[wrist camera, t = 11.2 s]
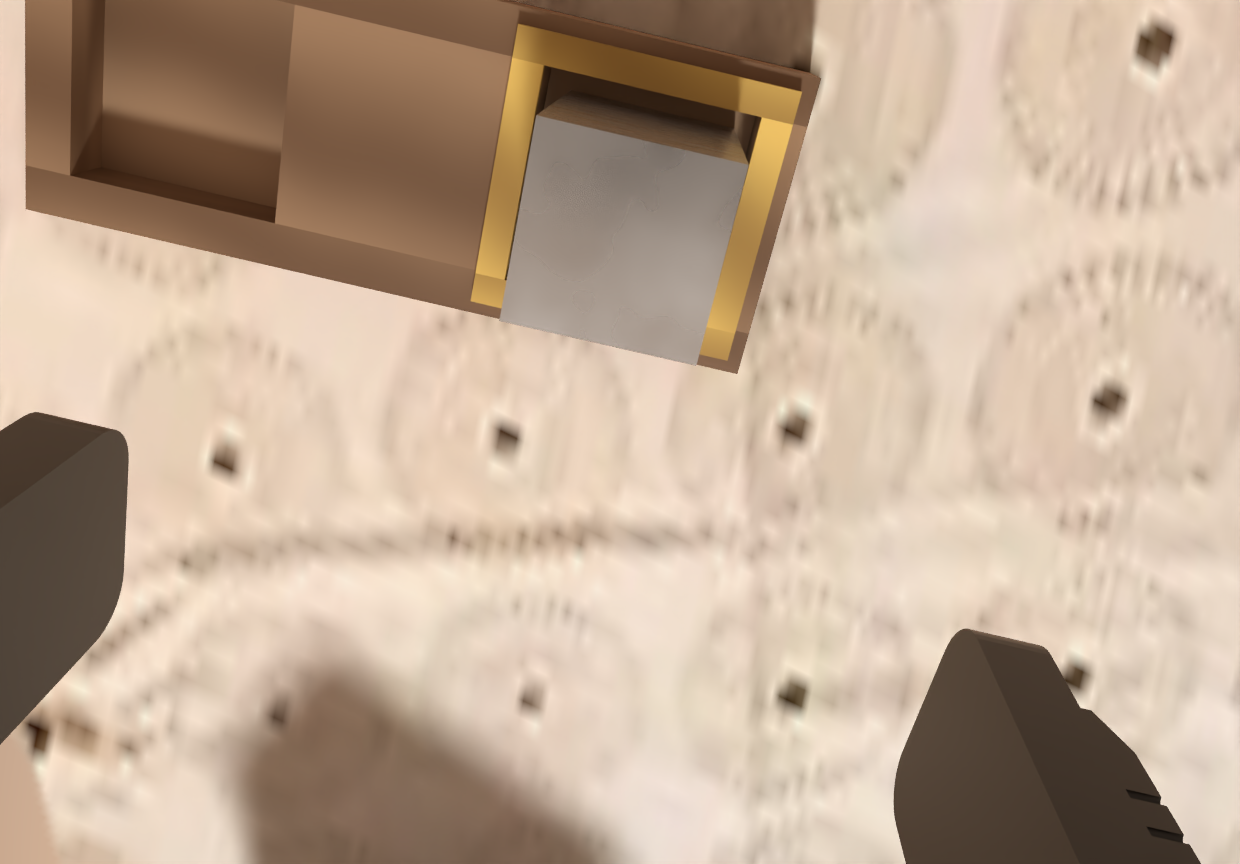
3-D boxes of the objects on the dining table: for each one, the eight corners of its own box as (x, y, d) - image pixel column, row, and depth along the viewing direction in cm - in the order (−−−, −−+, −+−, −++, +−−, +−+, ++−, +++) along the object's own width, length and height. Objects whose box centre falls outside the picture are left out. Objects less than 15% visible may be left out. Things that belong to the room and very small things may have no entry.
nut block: (571, 90, 28) (536, 115, 21) (734, 128, 28) (749, 164, 21) (540, 252, 29) (499, 320, 23) (694, 287, 30) (696, 365, 23)
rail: (78, -104, 27) (17, -115, 25) (810, 72, 28) (822, 79, 25) (73, 194, 30) (19, 211, 28) (733, 348, 31) (737, 377, 29)
